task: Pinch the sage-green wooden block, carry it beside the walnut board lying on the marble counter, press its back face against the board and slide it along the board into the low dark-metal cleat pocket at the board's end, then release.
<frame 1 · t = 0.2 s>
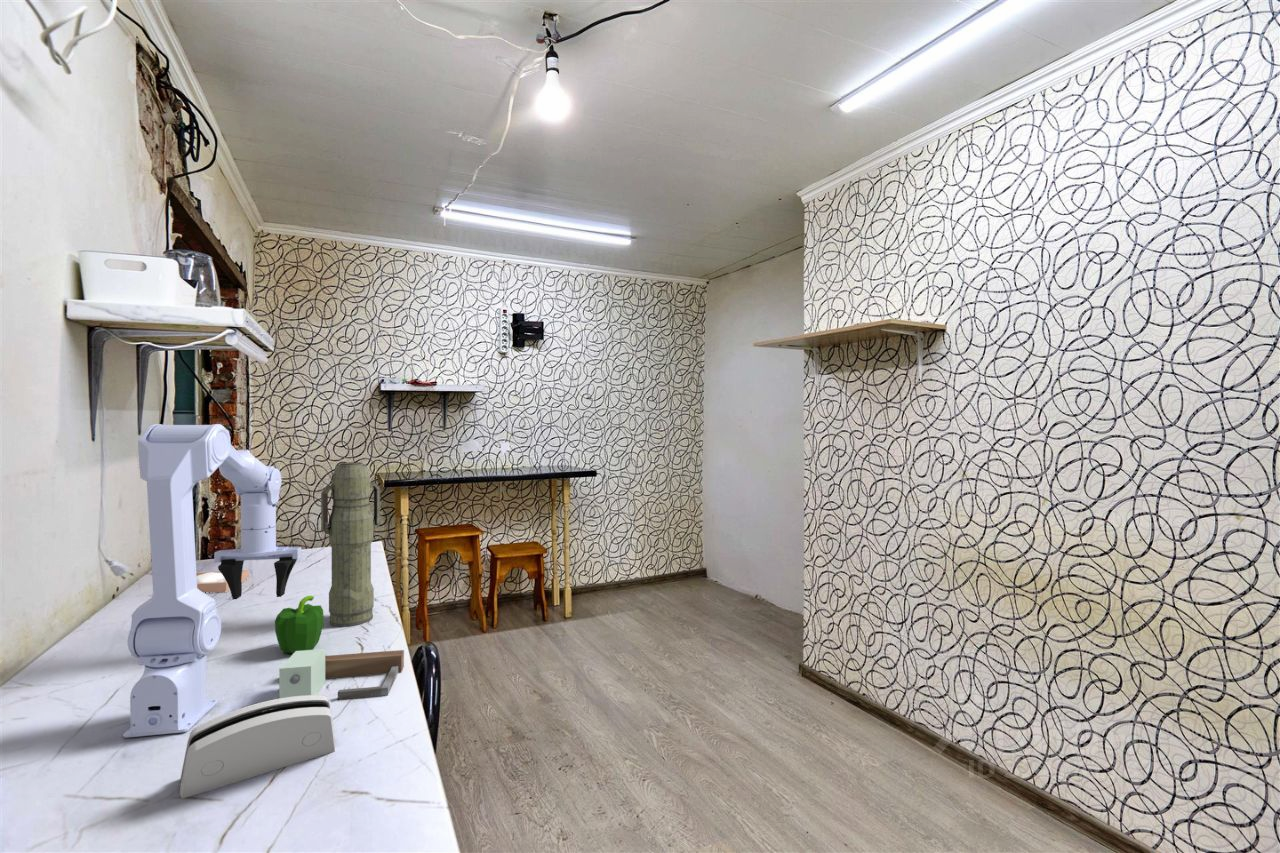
hand: (258, 596, 113), 10 cm above the table, fingers open, 7 cm apart
thermos: (351, 620, 129), on the table
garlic: (209, 588, 154), on the table
grey napkin holder: (262, 771, 74), on the table
cabinet block: (303, 695, 94), on the table
wall board: (347, 675, 101), on the table
bell pepper: (300, 651, 112), on the table
tan flat square tray: (208, 586, 154), on the table
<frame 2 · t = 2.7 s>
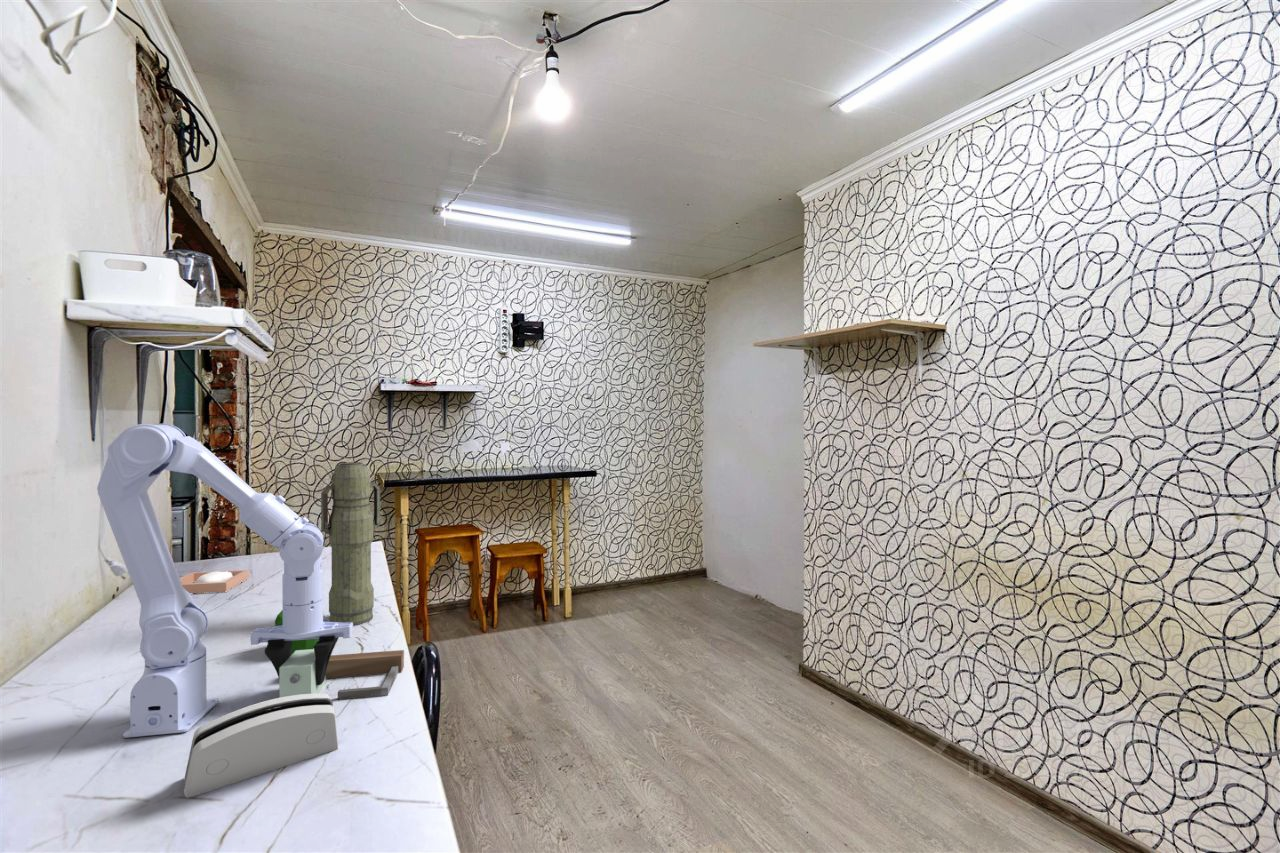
hand: (303, 683, 94), 2 cm above the table, fingers closed on cabinet block, 4 cm apart
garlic: (215, 587, 155), on the table
cabinet block: (303, 694, 94), on the table, touching gripper
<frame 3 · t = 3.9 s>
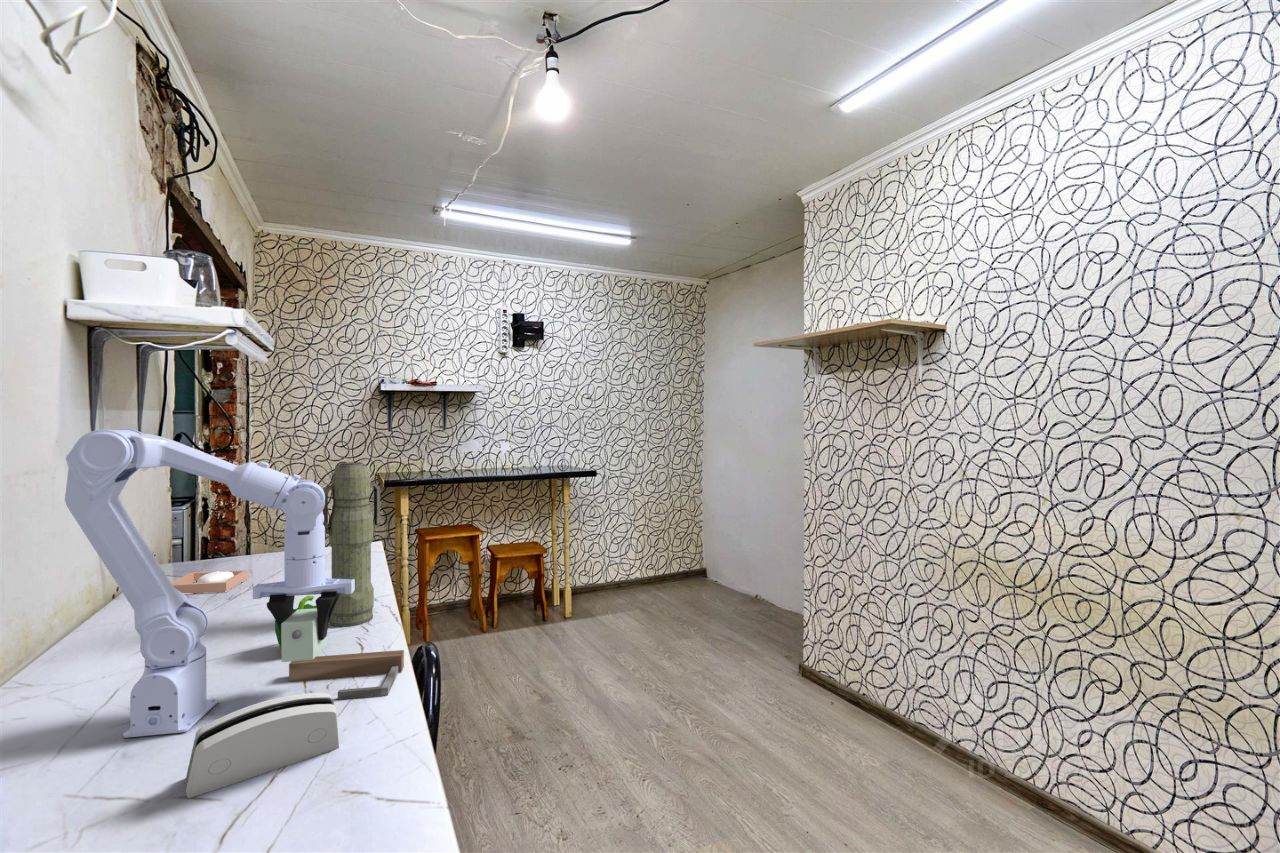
hand: (305, 639, 94), 9 cm above the table, fingers closed on cabinet block, 4 cm apart
cabinet block: (305, 652, 95), point 7 cm above the table, touching gripper
everything else where it was.
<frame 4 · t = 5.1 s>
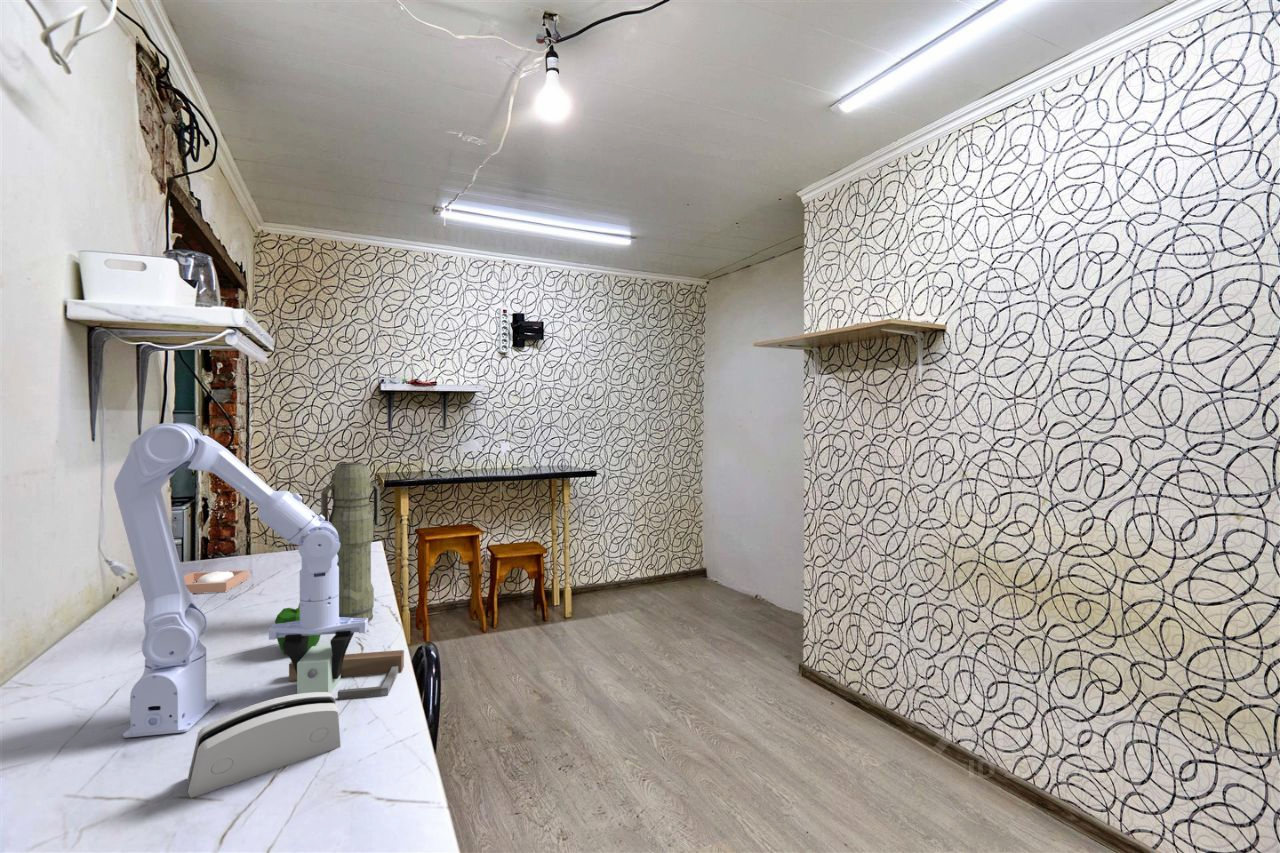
hand: (319, 678, 96), 2 cm above the table, fingers closed on cabinet block, 4 cm apart
cabinet block: (319, 689, 96), on the table, touching gripper
everything else where it was.
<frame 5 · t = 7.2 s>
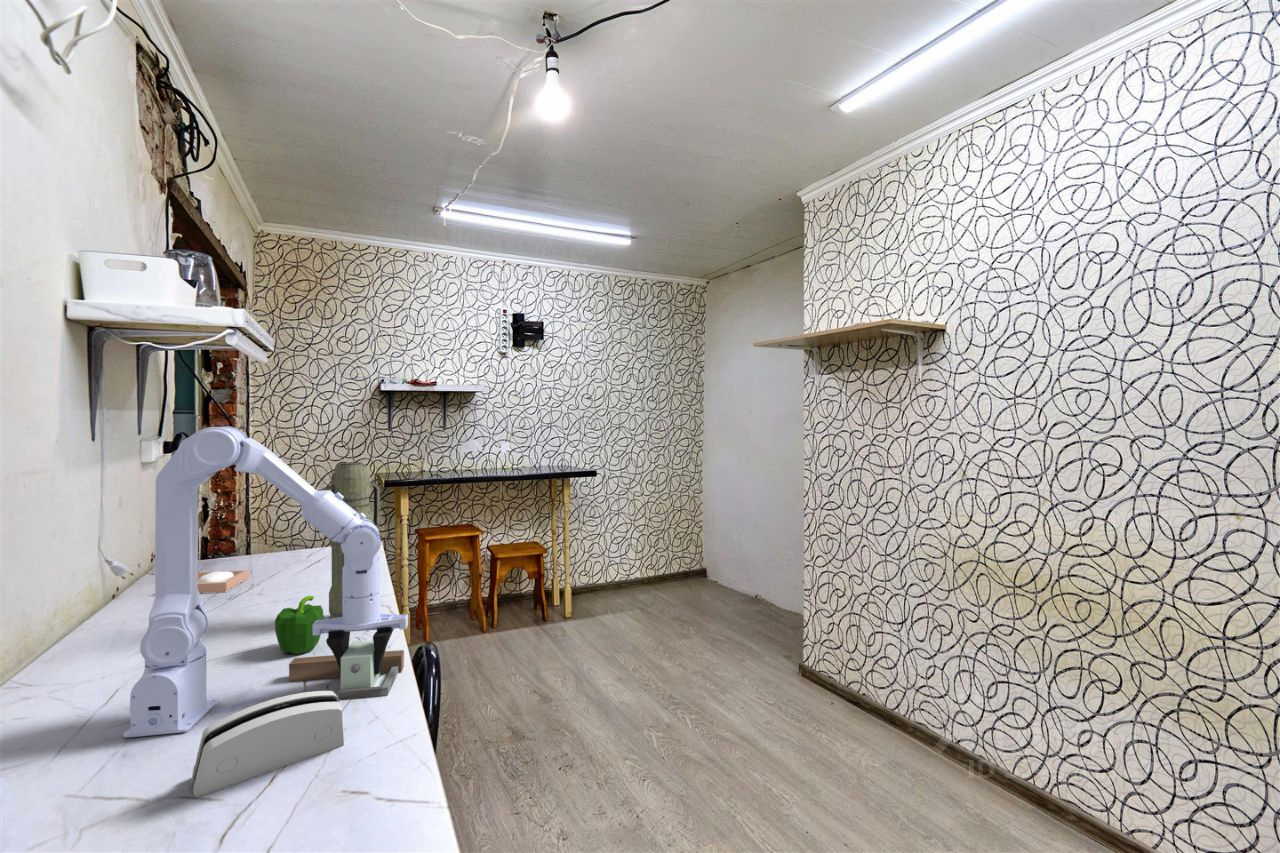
hand: (361, 673, 98), 2 cm above the table, fingers closed on cabinet block, 4 cm apart
cabinet block: (361, 684, 98), on the table, touching gripper
when the fingers open (2 cm above the table, at t = 9.0 s): cabinet block stays where it is, on the table.
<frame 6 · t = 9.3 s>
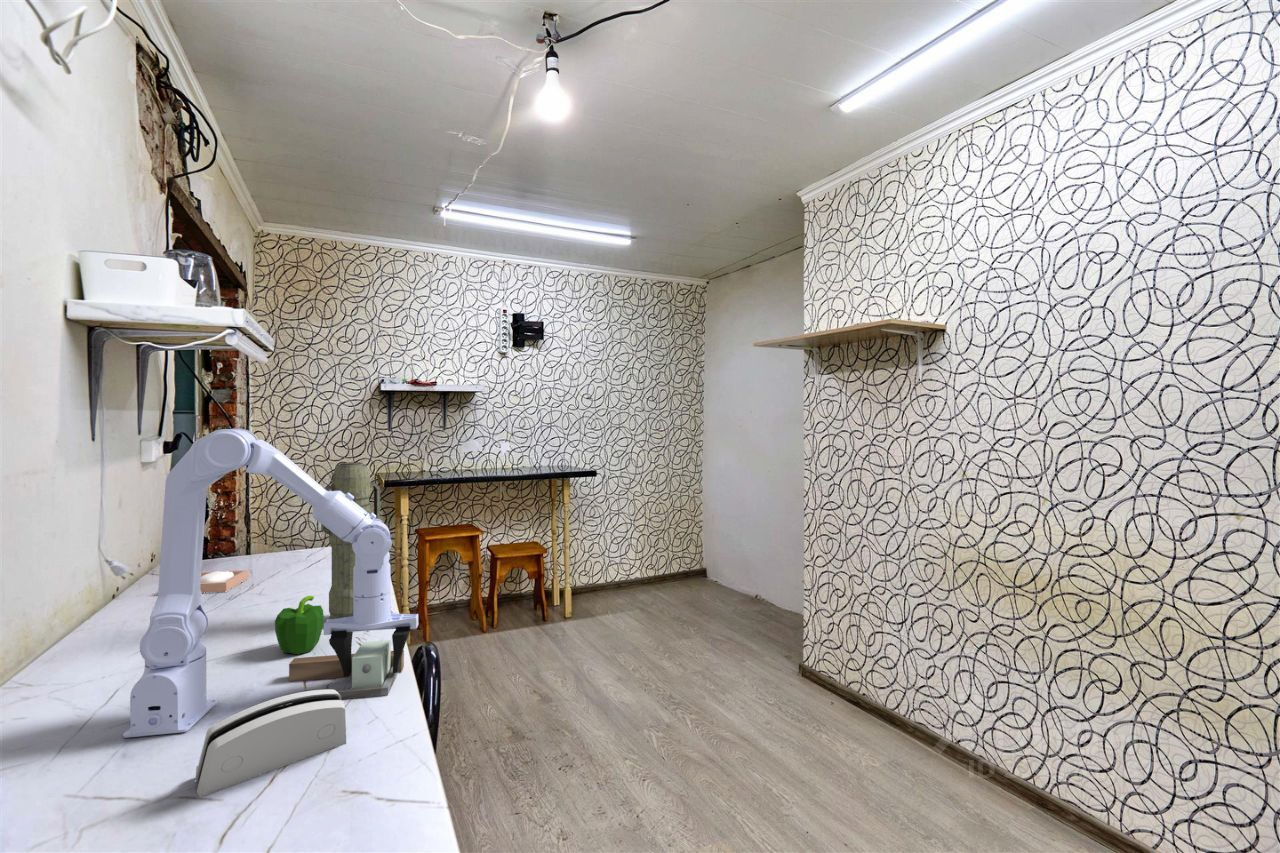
hand: (372, 672, 98), 2 cm above the table, fingers open, 7 cm apart
cabinet block: (372, 684, 98), on the table
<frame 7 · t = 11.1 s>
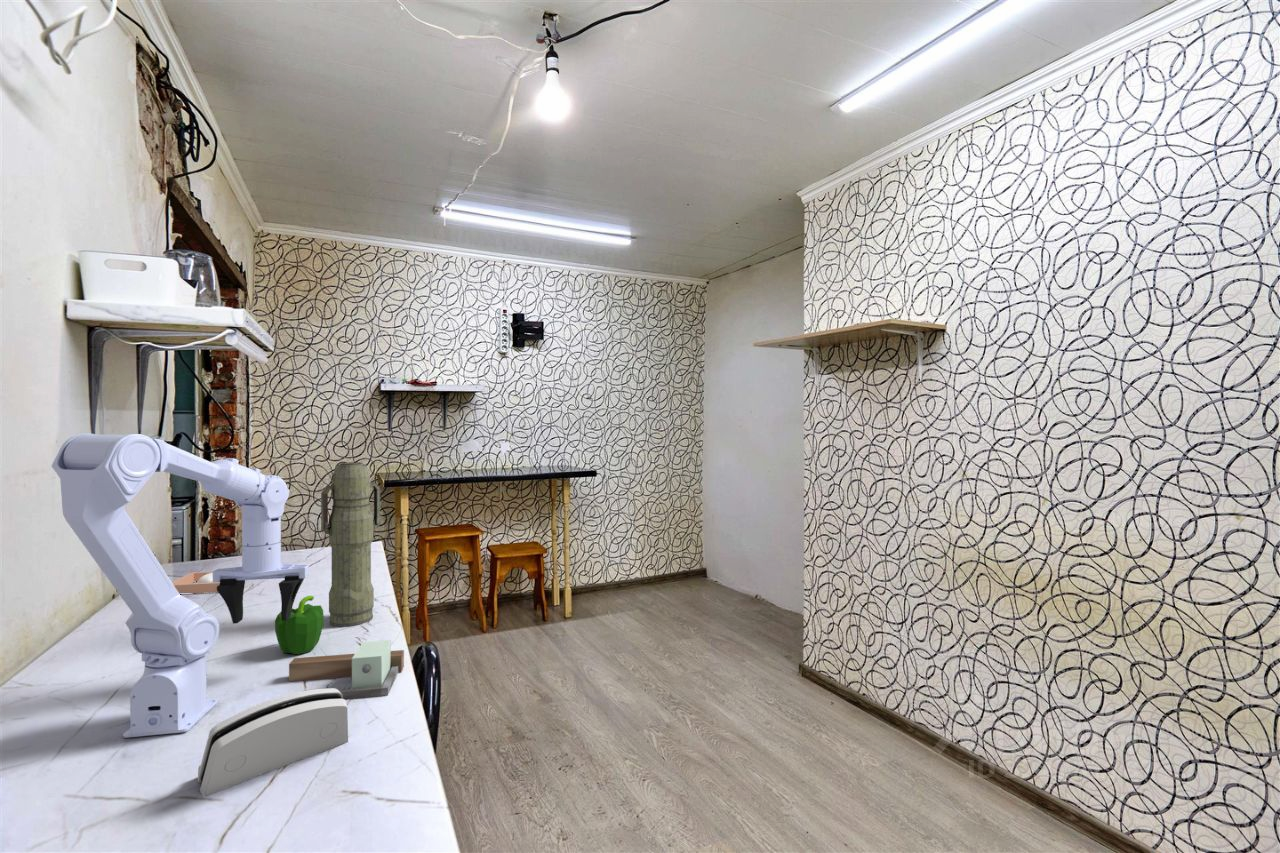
hand: (262, 620, 102), 9 cm above the table, fingers open, 7 cm apart
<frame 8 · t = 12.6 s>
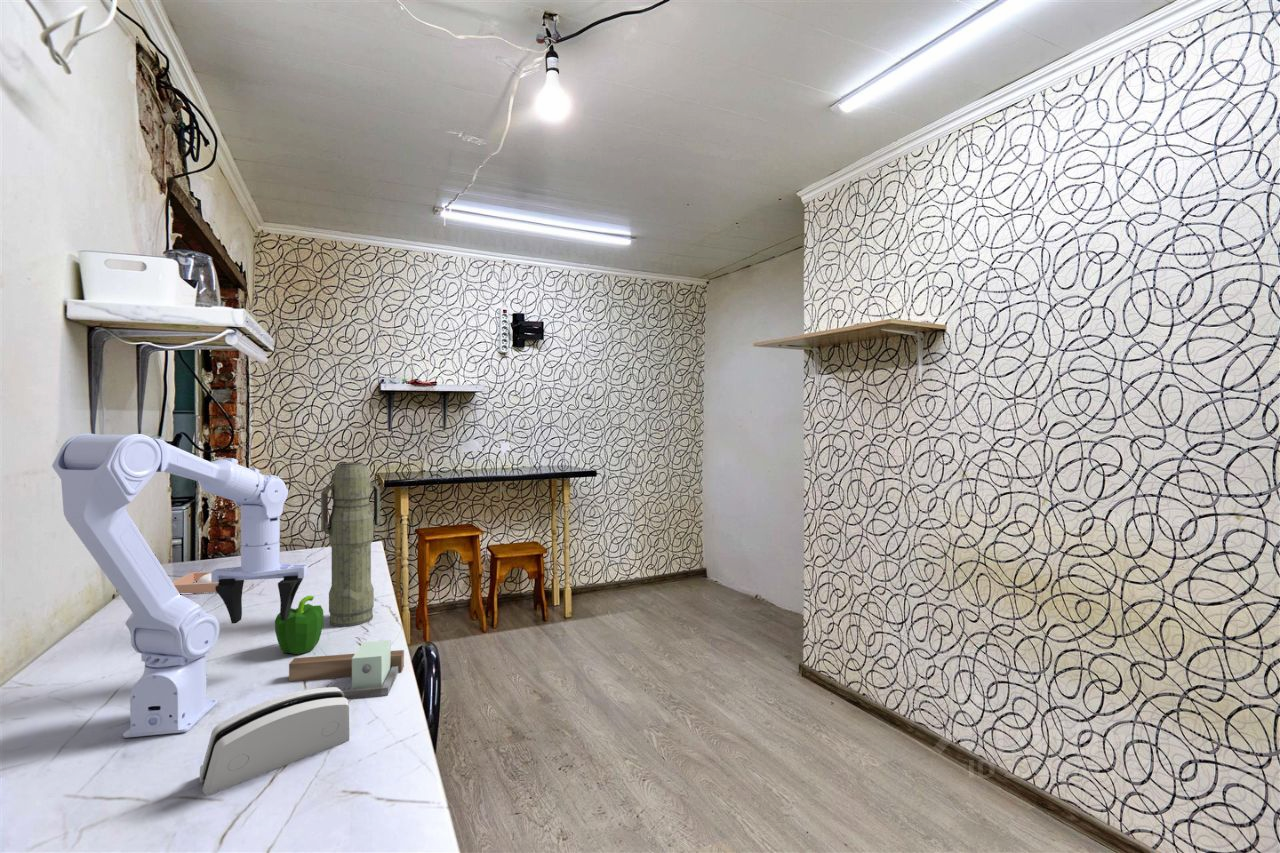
hand: (260, 620, 102), 9 cm above the table, fingers open, 7 cm apart
at the end: cabinet block 0.5 cm from the target spot on the wall board, point 0.0 cm above the wall board's base; cabinet block tilted 0°; the gripper is holding nothing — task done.
